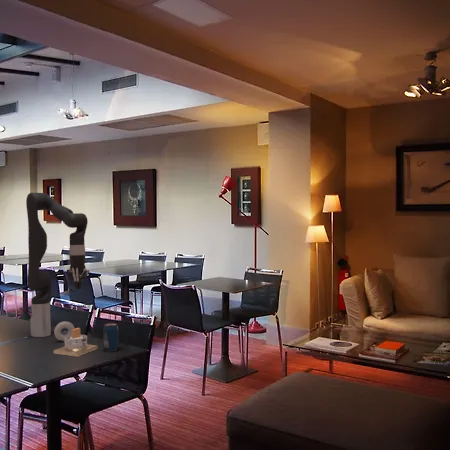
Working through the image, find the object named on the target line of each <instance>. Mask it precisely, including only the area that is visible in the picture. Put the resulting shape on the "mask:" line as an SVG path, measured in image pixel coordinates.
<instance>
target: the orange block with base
mask: <svg viewBox="0 0 450 450" xmlns="http://www.w3.org/2000/svg"><path fill="white" fill-rule="evenodd" d="M81 335H82V334H81V328H80V327H76V328H75V329H72V337H70V339H81V338H83V336H81Z"/></svg>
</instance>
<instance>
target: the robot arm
mask: <svg viewBox="0 0 450 450" xmlns="http://www.w3.org/2000/svg"><path fill="white" fill-rule="evenodd" d="M25 203H26V206H25V207H26V214H27V215H26V216H27V224H28V225H27V227H28V228H27V229H28V231H27V232H28V233H27V234H28V237H27V238H28V239H27V241H28V244H27V245H28V264H27V265H28V267H27V277H26V278H27V279H26V282H27V287H28V289H29V290H30V291H31V292H37V294H36V295H34V296H33V297H32V298H31V300H30V301H31V305H30V306H31V317H30V319H29V322H30V325H29V326H30V336H31V337H33V338H45V337H49V336H51V334H52V333H51V332H52V331H51V326H52V325H51V297H52V277H51V275H50V273H49V272H47V271H43V272H40V265H41V261H42V260H43V258H44V255H45V253H46V251H47V249H48V235H47V233H46V231H45V229H44V226H43V225H42V224H41V222H40V220H39V219H40V218H39V215H38V213H39V212H38V211H49V212H51V214H52V215H53V217H54V218H56V219H57V220H59V221H61V222H63V224H64V225H65V226H66V227H68V228H69V229H70V228H72V229H75V231H74V232H72V233H70V234H69V249H68V250H69V251H68V253H69V255H68V256H69V264H70V265H69V268H68V269H66V274H67V275H68V277H69V278H70V280H71V281H74V288H75V290H81V289H82V281H85V279H86V278H87V276H88V275H89V273H90V270H89V269H86V265H85V264H86V246H85V236H86V235H85V234H86V231H87V228H88V217H87V215H86V214H84V213H81V212H80V213H74V211H72V209H70V208H68V207H67V206H64V205H62V204H60V203H59V202H57V201H56V200H55V199H53V198H52V197H51V196H50V195H49V194H48V193H44V192H29V193H28V194H27V196H26V201H25Z"/></svg>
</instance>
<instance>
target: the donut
mask: <svg viewBox="0 0 450 450" xmlns="http://www.w3.org/2000/svg"><path fill="white" fill-rule="evenodd" d="M63 329H66V330H67V333H65V334H63V333H62V331H63ZM72 329H76V328H75V326H74V324H73V323H72V322H70V321H61V322H59V323H57V325H56V326H55V327H54V331H53V334H54V337H55V338H56V339H57V340H58V341H61V342H64V338H65V337H67V336H71V335H72Z"/></svg>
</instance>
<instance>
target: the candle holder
mask: <svg viewBox="0 0 450 450" xmlns="http://www.w3.org/2000/svg"><path fill="white" fill-rule="evenodd" d="M81 336H83V338H81V339H70V337H72V335H71V336H67V337H65V338H64V341H63V342H64V346H61V347H59V348H55V349H53V354H54V355H62V356H70V357H78V358H79V357H81V356H83V355H86V354H88V353H90V352H93V351H96V350H98V349H99V346H98V345H96V344H95V345H94V344H88V335H86V334H81Z"/></svg>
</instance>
